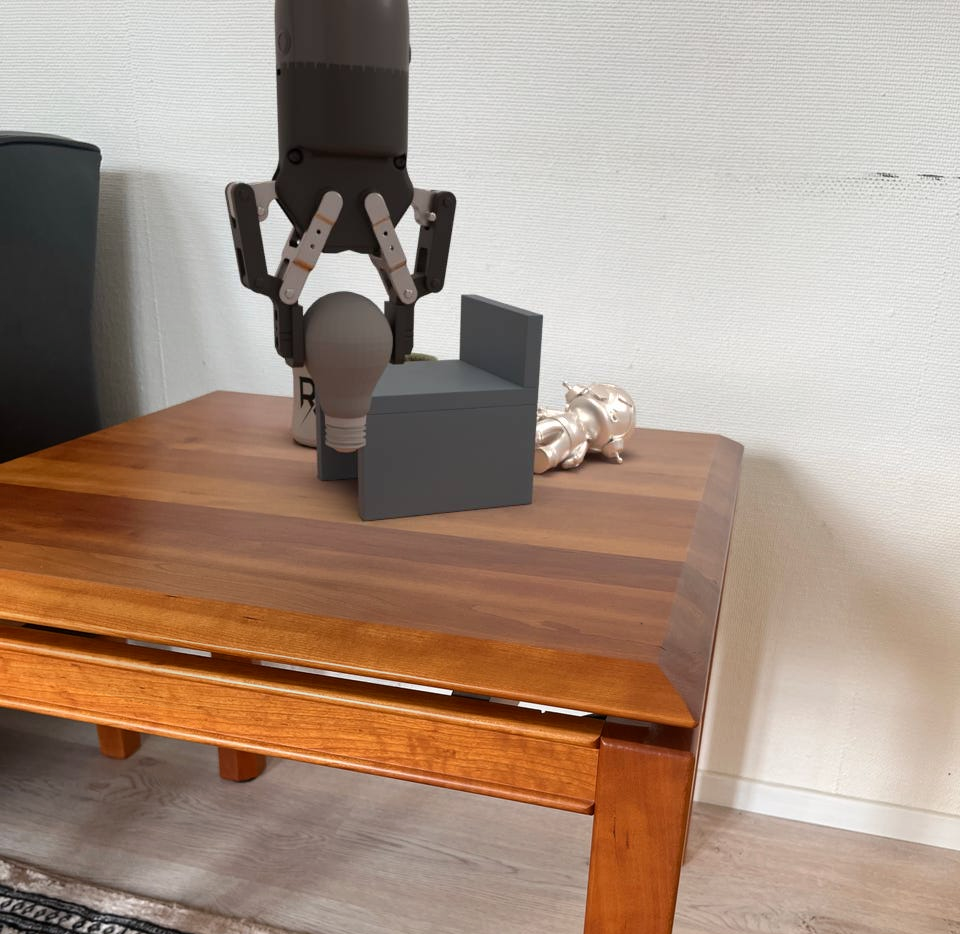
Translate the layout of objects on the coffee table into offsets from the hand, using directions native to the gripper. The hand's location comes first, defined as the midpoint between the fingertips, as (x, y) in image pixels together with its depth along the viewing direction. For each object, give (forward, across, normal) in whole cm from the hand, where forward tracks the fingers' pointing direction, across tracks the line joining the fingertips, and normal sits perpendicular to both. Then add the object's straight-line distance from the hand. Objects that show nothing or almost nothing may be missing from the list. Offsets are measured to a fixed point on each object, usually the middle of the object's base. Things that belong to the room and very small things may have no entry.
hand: (344, 363), depth 65 cm
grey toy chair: (+16, -14, -22) cm, 31 cm away
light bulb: (+6, 0, 0) cm, 6 cm away
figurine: (+16, -33, -27) cm, 46 cm away
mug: (+16, -13, -41) cm, 46 cm away
